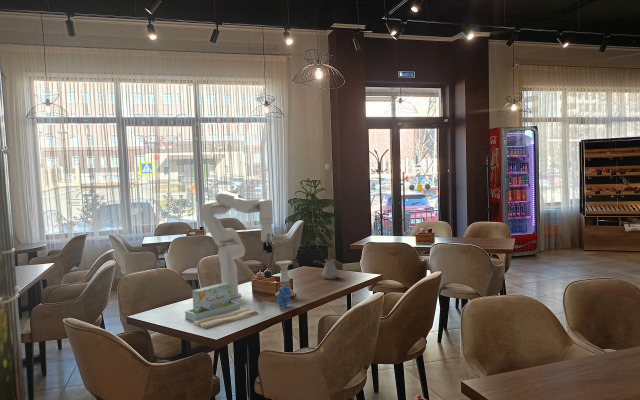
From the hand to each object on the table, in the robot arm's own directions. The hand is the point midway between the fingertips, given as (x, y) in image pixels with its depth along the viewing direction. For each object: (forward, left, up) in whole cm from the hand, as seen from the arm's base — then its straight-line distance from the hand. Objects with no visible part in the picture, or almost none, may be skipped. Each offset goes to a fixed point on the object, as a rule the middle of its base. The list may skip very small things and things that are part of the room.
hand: (267, 251), depth 261 cm
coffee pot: (-16, +59, -29) cm, 68 cm away
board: (+8, -34, -29) cm, 45 cm away
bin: (-5, -34, -29) cm, 45 cm away
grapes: (+14, -2, -29) cm, 32 cm away
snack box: (-5, -34, -29) cm, 45 cm away
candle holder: (-5, +15, -29) cm, 33 cm away
